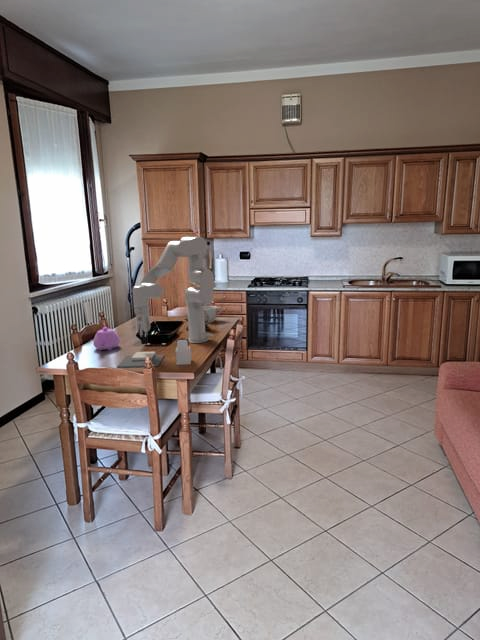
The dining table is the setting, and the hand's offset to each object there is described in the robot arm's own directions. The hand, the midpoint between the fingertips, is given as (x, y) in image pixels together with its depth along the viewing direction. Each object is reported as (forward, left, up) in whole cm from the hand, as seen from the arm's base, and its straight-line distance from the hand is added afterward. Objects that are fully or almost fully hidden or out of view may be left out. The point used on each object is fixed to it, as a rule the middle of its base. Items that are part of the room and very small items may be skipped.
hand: (144, 343), depth 232 cm
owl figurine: (-21, -53, -7) cm, 58 cm away
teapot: (+26, -16, -7) cm, 31 cm away
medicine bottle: (-22, +12, -7) cm, 26 cm away
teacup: (-28, -76, -7) cm, 81 cm away
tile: (0, 0, -5) cm, 5 cm away
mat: (0, +9, -7) cm, 12 cm away
